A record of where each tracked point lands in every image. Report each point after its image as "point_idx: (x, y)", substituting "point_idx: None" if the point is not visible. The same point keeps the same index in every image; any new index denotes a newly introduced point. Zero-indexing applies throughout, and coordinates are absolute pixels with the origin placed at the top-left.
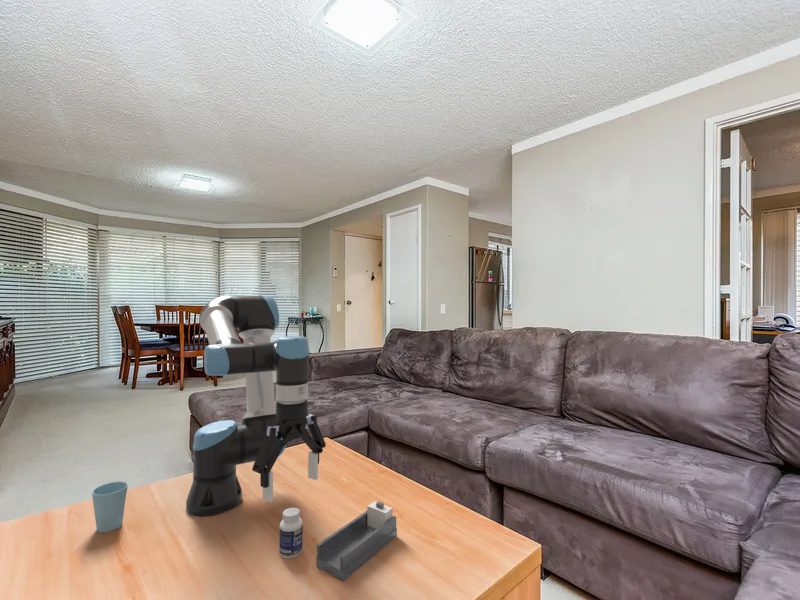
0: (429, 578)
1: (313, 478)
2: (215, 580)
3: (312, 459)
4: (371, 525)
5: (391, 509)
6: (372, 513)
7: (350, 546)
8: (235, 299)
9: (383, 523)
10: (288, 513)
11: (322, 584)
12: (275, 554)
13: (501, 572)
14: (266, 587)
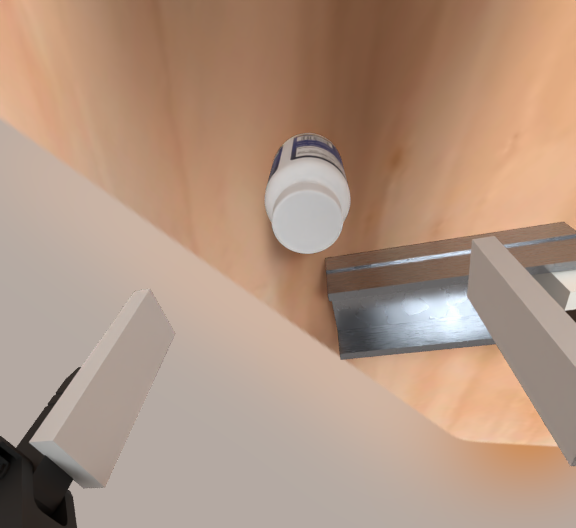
0: (446, 396)
1: (470, 285)
2: (95, 136)
3: (542, 383)
4: None
5: None
6: (553, 297)
7: (414, 291)
8: None
9: None
10: (290, 228)
11: (302, 305)
12: (267, 144)
13: (526, 442)
14: (204, 243)
